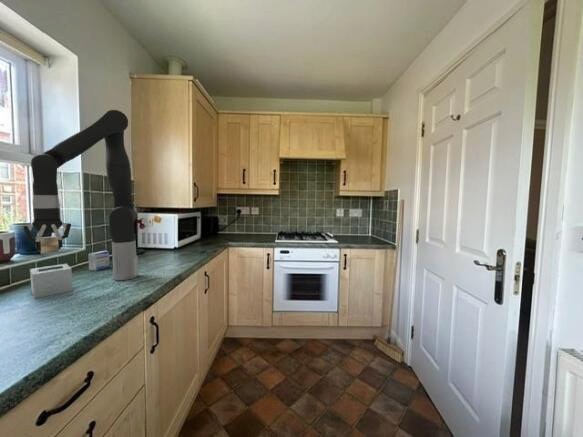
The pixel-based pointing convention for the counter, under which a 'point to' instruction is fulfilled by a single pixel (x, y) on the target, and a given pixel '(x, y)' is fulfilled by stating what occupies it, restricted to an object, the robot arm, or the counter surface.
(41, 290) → the money box
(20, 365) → the counter surface
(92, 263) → the medicine box
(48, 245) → the tan brown box
